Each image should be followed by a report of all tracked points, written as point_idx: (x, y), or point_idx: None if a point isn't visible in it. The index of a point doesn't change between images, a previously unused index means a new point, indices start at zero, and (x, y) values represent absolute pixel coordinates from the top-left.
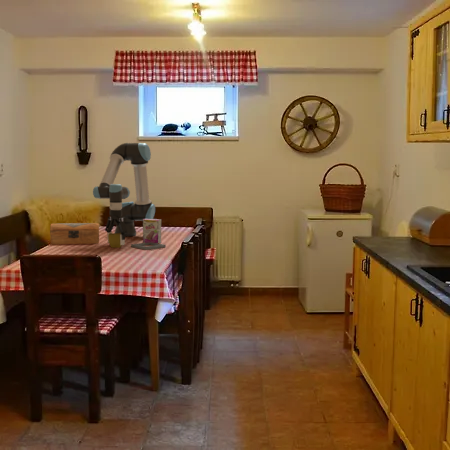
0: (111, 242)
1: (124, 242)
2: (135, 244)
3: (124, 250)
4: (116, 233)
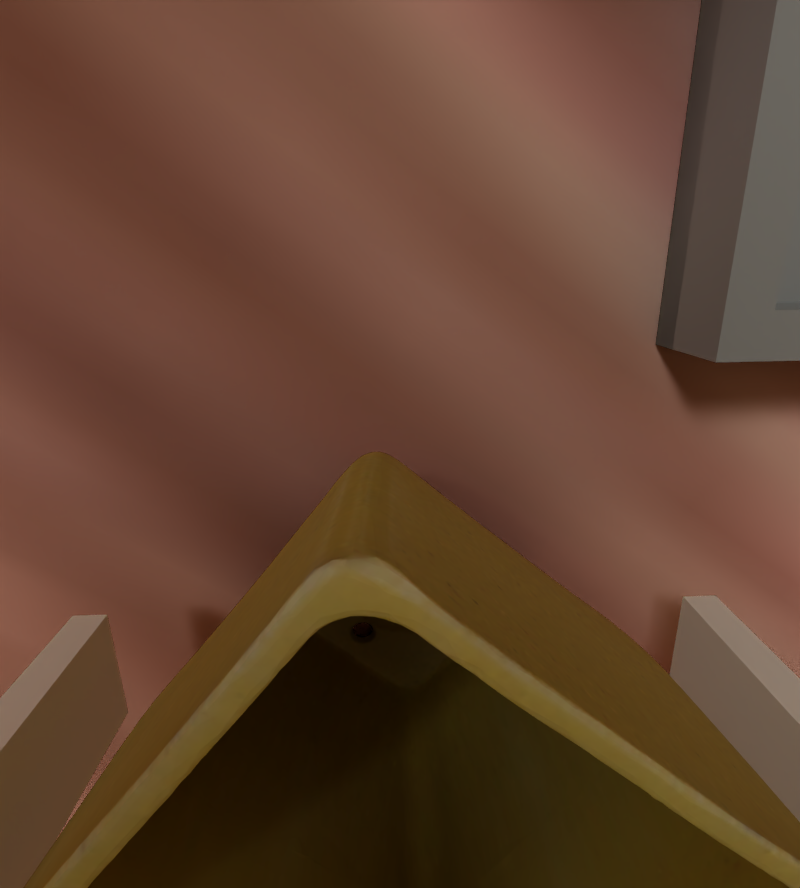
0: (463, 846)
1: (756, 645)
2: (786, 225)
3: (763, 617)
4: (124, 841)
